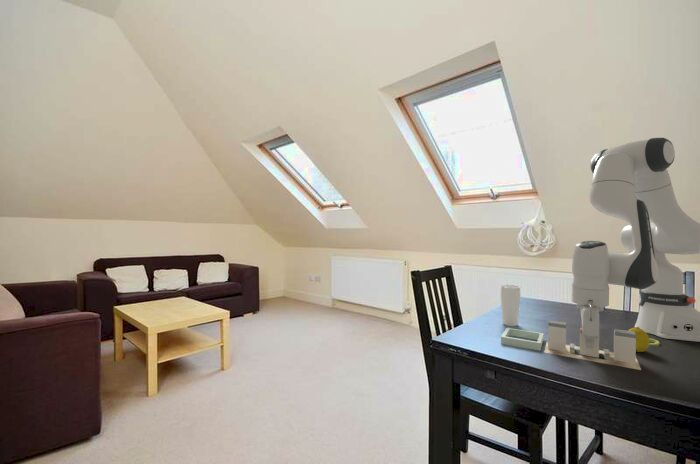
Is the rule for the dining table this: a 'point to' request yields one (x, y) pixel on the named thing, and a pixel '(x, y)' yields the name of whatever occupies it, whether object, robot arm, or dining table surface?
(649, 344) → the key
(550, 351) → the holder board
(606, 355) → the clip jaws
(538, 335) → the tray
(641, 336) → the lemon
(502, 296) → the drinking glass
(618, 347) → the fuse
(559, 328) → the block
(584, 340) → the marked fuse
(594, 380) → the dining table surface
